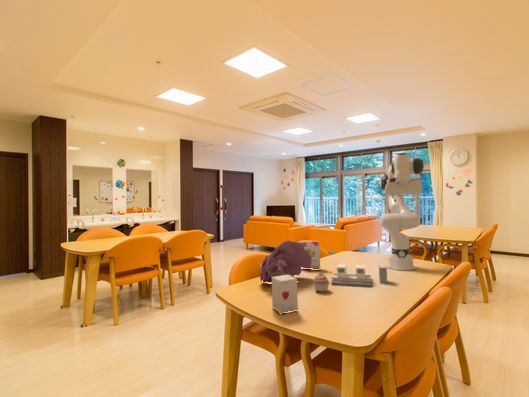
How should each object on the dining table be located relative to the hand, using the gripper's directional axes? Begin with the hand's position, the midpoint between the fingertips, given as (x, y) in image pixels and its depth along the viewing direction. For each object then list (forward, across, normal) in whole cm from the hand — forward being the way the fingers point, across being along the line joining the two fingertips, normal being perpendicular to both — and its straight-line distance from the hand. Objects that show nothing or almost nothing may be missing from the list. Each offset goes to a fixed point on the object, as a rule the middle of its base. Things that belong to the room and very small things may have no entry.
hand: (403, 201), depth 173 cm
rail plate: (+47, +32, +9) cm, 58 cm away
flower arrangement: (+48, +72, +18) cm, 88 cm away
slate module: (+47, +14, +6) cm, 50 cm away
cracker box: (+48, +61, -18) cm, 79 cm away
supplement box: (+48, +61, +62) cm, 99 cm away
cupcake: (+48, +48, +30) cm, 74 cm away
